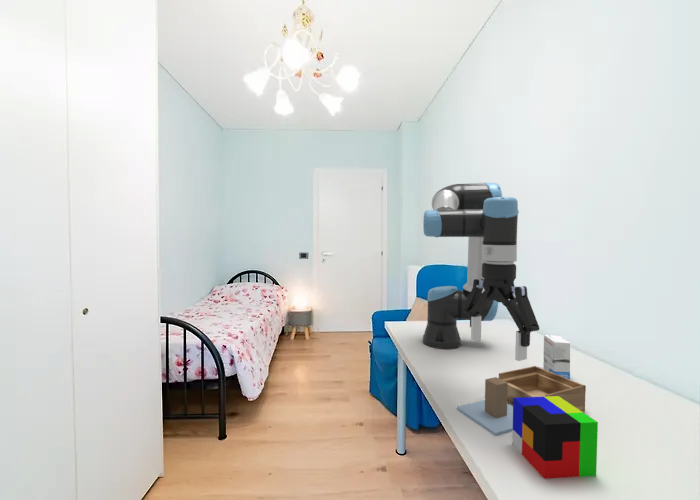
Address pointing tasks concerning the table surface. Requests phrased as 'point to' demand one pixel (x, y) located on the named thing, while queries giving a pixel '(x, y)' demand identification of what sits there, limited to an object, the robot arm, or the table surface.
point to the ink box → (557, 355)
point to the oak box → (543, 386)
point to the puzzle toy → (555, 437)
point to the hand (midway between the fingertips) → (496, 349)
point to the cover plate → (487, 418)
